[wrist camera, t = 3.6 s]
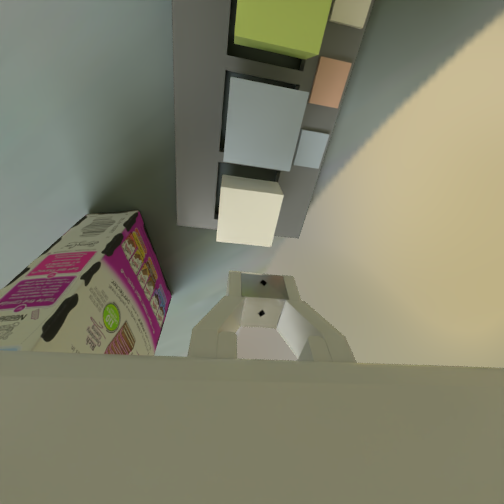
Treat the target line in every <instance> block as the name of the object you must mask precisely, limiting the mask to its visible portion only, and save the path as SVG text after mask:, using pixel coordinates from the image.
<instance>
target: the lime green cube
mask: <svg viewBox="0 0 504 504" xmlns="http://www.w3.org/2000/svg"><path fill="white" fill-rule="evenodd" d="M331 3H332V0H237V10H236V22H235V33H234V44H238V45H242V46H247V47H251V48H256V49H260V50H265V51H269V52H274V53H278V54H283V55H287V56H292V57H296V58H301V59H308V58H311V57H313V56H316V55H319V51H320V47H321V43H322V39H323V35H324V31H325V27H326V23H327V19H328V15H329V11H330V7H331Z"/></svg>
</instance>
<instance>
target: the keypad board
mask: <svg viewBox="0 0 504 504" xmlns="http://www.w3.org/2000/svg"><path fill="white" fill-rule="evenodd" d="M374 2H375V0H332V3H331V7H330V11H329V15H328V19H327V23H326V27H325V31H324V35H323V39H322V43H321V47H320V51H319V55H316V56H313V57H311V58H308V59H302V60H301V65H300V69H299V70H294V69H290V68H285V67H280V66H276V65H271V64H266V63H262V62H257V61H252V60H248V59H243V58H238V57H234V56H229V55H227V50H228V37H229V25H230V12H231V0H172V28H173V72H174V117H175V162H176V206H177V226H187V227H196V228H205V229H215V230H217V226H218V215H219V214H218V213H215V204H216V191H217V179H218V166H219V162H223V158H224V149H221V148H220V140H221V127H222V114H223V102H224V89H225V76H226V71H230V72H235V73H240V74H245V75H249V76H254V77H259V78H264V79H269V80H274V81H279V82H284V83H289V84H293V85H296V88H295V90H300V91H304V92H309V96H308V100H307V104H306V108H305V112H304V116H303V120H302V124H301V128H300V132H299V136H298V140H297V144H296V148H295V152H294V156H293V160H292V164H291V168H290V172H289V171H282V170H277V175H276V179H275V182H278V184H279V186H280V188H281V190H282V192H283V194H284V197H283V201H282V205H281V209H280V213H279V217H278V221H277V225H276V229H275V233H274V236H281V237H290V238H299V236H300V233H301V230H302V227H303V223H304V220H305V217H306V214H307V211H308V208H309V205H310V202H311V198H312V195H313V192H314V189H315V186H316V183H317V180H318V177H319V173H320V170H321V167H322V164H323V161H324V158H325V155H326V152H327V148H328V145H329V142H330V139H331V136H332V133H333V130H334V127H335V123H336V120H337V117H338V114H339V111H340V108H341V105H342V102H343V98H344V95H345V92H346V89H347V86H348V83H349V80H350V77H351V73H352V70H353V67H354V64H355V61H356V58H357V55H358V52H359V48H360V45H361V42H362V39H363V36H364V33H365V30H366V27H367V23H368V20H369V17H370V14H371V11H372V8H373V5H374ZM223 163H228V162H223ZM230 164H235V163H230ZM237 165H242V164H237ZM244 166H249V165H244ZM250 167H255V166H250ZM257 168H262V167H257ZM264 169H269V168H264ZM271 170H275V169H271Z"/></svg>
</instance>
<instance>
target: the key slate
mask: <svg viewBox="0 0 504 504" xmlns="http://www.w3.org/2000/svg"><path fill="white" fill-rule="evenodd" d="M308 96H309V92H304V91H300V90H295V89H290V88H285V87H280V86H275V85H270V84H265V83H260V82H255V81H250V80H245V79H240V78H235V77H231V78H230V90H229V101H228V112H227V124H226V135H225V147H224V158H223V162H228V163H235V164H242V165H249V166H255V167H262V168H269V169H275V170H282V171H289V172H290V168H291V164H292V160H293V156H294V152H295V148H296V144H297V140H298V136H299V132H300V128H301V124H302V120H303V116H304V112H305V108H306V104H307V100H308Z"/></svg>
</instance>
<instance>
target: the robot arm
mask: <svg viewBox="0 0 504 504" xmlns="http://www.w3.org/2000/svg"><path fill="white" fill-rule="evenodd" d="M239 327H263V328H275V329H276V330H277V331H278V333H279V334H280V335H281V336H282V338H283V339H284V340H285V342H286V343H287V345H288V346H289V347H290V349H291V350H292V351H293V353H294V354H295V355H296V357H297V358H298V360H297V361H292V360H263V359H237V335H236V334H235V333H236V332H237V330H238V329H239ZM0 504H504V368H494V367H493V368H492V367H463V366H436V365H435V366H434V365H407V364H378V363H357V362H356V360H355V358H354V355H353V353H352V351H351V349H350V346H349V344H348V342H347V340H346V338H345V336H344V335H342V334H341V333H340V332H339V331H338V330H337V329H336V328H334V327H333V326H332V325H331V324H330V323H329V322H328V321H326V320H325V319H324V318H323V317H322V316H321V315H320V314H318V313H317V312H316V311H315V310H314V309H313V308H311V307H310V306H309V305H308V304H307V303H306V302H305V301H301V298H300V295H299V292H298V289H297V286H296V283H295V280H294V277H293V276H285V275H282V276H280V275H269V274H258V273H249V272H239V271H229V274H228V282H227V289H226V296H224V297H223V298H222V299H221V300H220V301H219V302H218V303H217V304H216V305H215V306H214V307H213V308H212V309H211V311H210V312H209V313H208V314H207V315H206V316H205V317H204V318H203V319H202V320H201V321H200V322H199V323H198V324H197V325H196V326H195V327H194V328H193V329H192V335H191V340H190V345H189V351H188V356H187V357H178V356H149V355H121V354H92V353H63V352H33V351H4V350H0Z"/></svg>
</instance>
